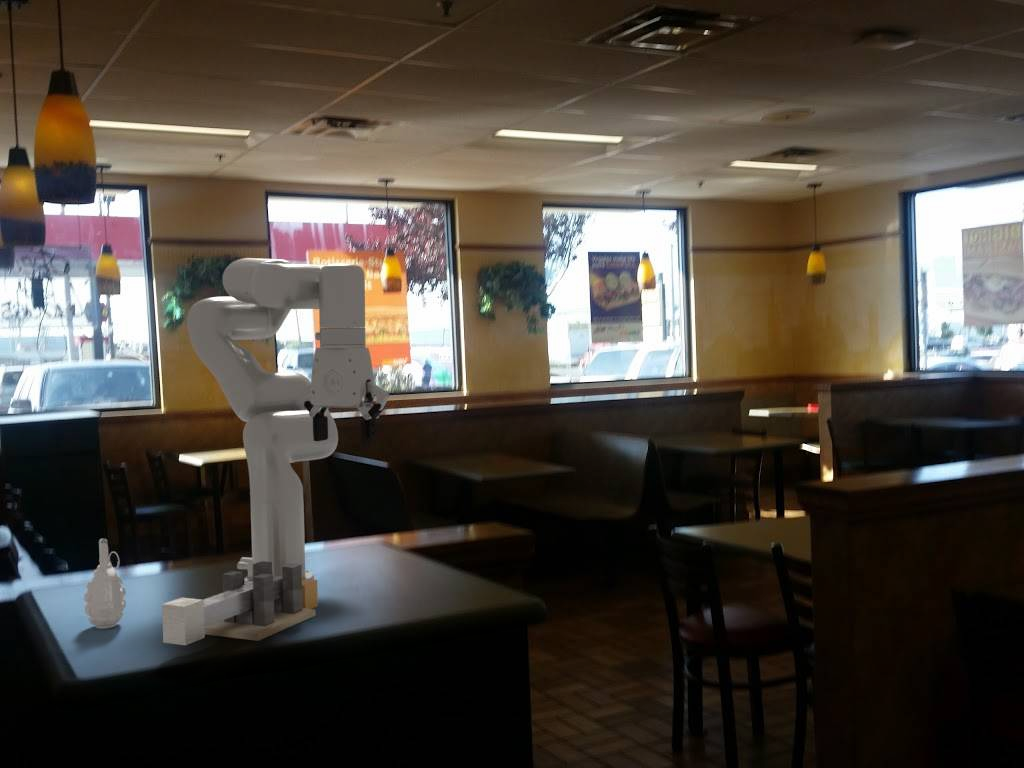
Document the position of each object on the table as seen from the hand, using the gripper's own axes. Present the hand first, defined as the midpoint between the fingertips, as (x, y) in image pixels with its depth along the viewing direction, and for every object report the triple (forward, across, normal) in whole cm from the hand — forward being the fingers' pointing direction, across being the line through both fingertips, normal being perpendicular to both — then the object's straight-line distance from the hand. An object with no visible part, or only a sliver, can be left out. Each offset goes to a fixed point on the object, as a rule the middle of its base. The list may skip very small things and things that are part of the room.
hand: (344, 441), depth 173 cm
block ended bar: (+25, -6, -22) cm, 34 cm away
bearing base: (+28, -6, -15) cm, 32 cm away
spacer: (+26, -7, -6) cm, 27 cm away
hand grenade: (+28, -27, -26) cm, 47 cm away
